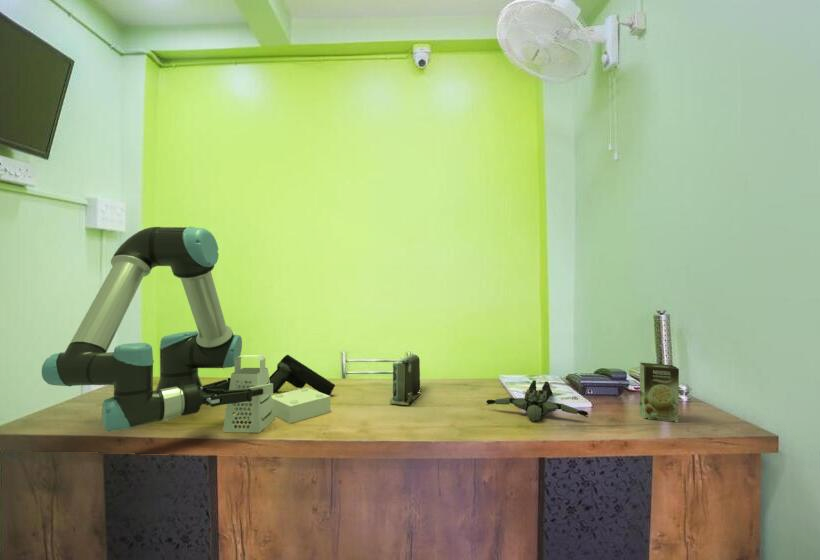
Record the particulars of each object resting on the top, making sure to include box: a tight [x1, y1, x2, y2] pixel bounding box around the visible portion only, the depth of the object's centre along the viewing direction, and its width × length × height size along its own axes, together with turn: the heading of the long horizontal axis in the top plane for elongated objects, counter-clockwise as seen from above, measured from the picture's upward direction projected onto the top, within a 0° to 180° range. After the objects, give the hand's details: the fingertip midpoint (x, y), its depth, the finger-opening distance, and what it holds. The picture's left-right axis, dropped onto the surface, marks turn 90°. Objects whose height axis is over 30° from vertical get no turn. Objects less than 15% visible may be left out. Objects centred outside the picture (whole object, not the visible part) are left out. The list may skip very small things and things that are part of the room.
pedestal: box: [272, 387, 332, 424], centre depth 123 cm, size 14×14×5 cm
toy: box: [485, 379, 589, 422], centre depth 127 cm, size 30×8×30 cm
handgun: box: [269, 354, 336, 396], centre depth 142 cm, size 2×24×15 cm, turn 79°
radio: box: [389, 353, 422, 406], centre depth 140 cm, size 23×9×15 cm, turn 158°
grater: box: [222, 354, 276, 433], centre depth 111 cm, size 10×10×20 cm
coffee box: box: [638, 362, 680, 422], centre depth 118 cm, size 9×6×16 cm
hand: (263, 384), depth 114 cm, fingers closed on grater, 11 cm apart
